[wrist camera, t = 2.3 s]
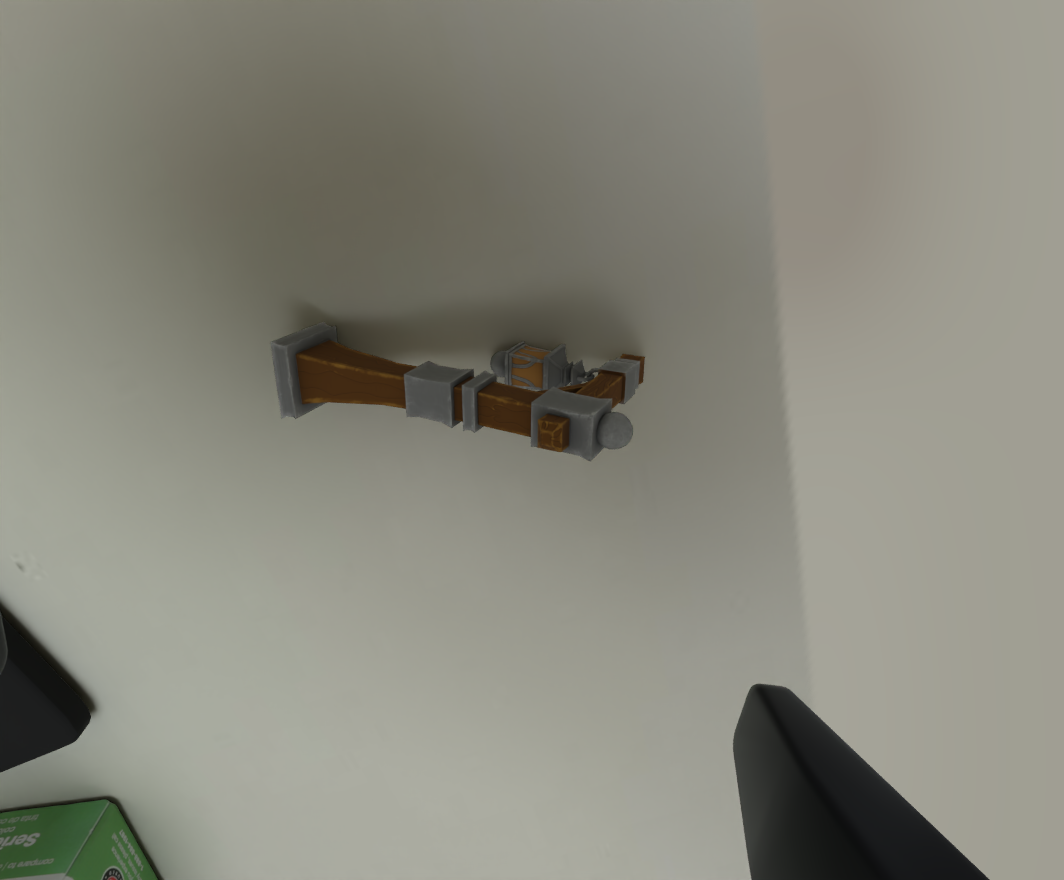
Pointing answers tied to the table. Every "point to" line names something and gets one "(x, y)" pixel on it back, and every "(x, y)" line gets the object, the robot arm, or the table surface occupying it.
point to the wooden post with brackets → (467, 390)
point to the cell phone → (34, 705)
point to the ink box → (70, 844)
